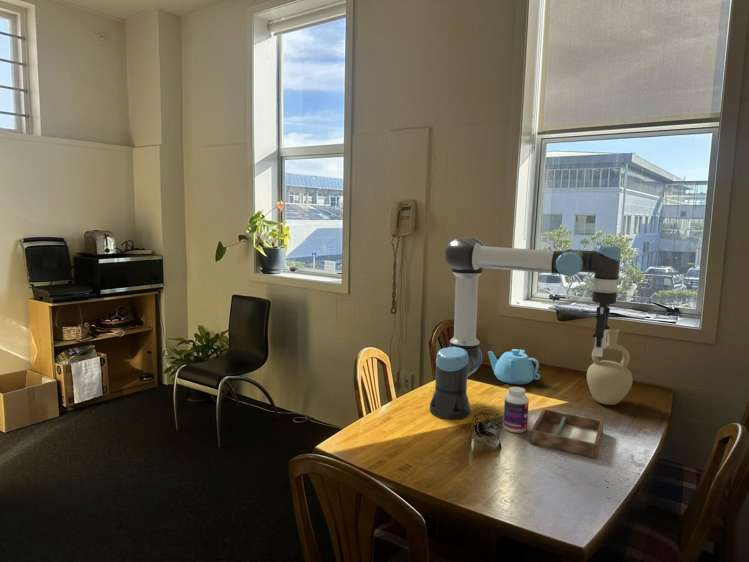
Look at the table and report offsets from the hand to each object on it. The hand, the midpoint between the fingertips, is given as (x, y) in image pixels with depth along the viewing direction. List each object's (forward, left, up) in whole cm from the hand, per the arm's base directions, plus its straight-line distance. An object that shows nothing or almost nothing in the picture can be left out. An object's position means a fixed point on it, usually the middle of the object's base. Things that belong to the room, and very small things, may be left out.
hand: (599, 351), depth 175 cm
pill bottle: (-24, -16, -28) cm, 40 cm away
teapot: (-38, +39, -28) cm, 61 cm away
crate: (-7, -14, -28) cm, 32 cm away
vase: (+2, +30, -28) cm, 41 cm away
